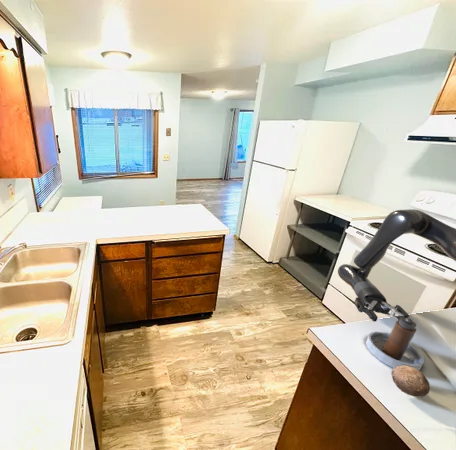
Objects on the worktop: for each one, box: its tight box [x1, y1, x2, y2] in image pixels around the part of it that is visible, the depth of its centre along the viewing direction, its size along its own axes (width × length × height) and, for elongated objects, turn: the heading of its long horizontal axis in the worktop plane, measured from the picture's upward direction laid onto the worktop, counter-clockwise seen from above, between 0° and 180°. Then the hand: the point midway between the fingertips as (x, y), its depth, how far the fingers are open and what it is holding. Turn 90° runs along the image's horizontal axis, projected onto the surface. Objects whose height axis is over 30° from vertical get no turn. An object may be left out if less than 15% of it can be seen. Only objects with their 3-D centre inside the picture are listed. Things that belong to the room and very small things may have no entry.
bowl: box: [365, 331, 425, 371], centre depth 79 cm, size 13×13×4 cm
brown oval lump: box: [391, 365, 431, 398], centre depth 68 cm, size 8×8×6 cm
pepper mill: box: [382, 317, 417, 360], centre depth 76 cm, size 5×5×15 cm
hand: (390, 322), depth 81 cm, fingers open, 8 cm apart
